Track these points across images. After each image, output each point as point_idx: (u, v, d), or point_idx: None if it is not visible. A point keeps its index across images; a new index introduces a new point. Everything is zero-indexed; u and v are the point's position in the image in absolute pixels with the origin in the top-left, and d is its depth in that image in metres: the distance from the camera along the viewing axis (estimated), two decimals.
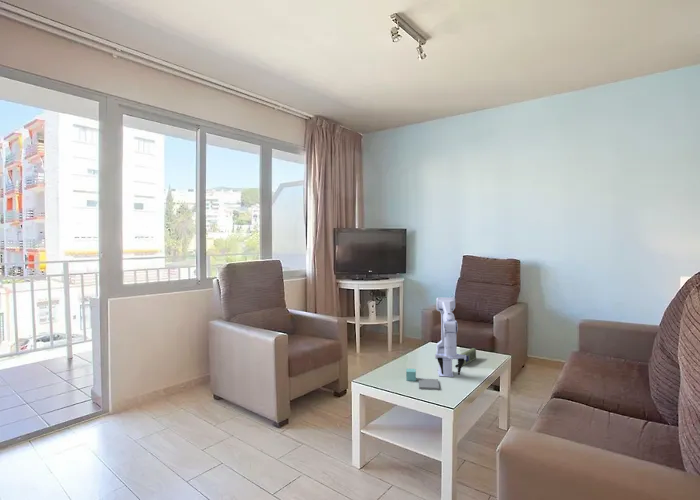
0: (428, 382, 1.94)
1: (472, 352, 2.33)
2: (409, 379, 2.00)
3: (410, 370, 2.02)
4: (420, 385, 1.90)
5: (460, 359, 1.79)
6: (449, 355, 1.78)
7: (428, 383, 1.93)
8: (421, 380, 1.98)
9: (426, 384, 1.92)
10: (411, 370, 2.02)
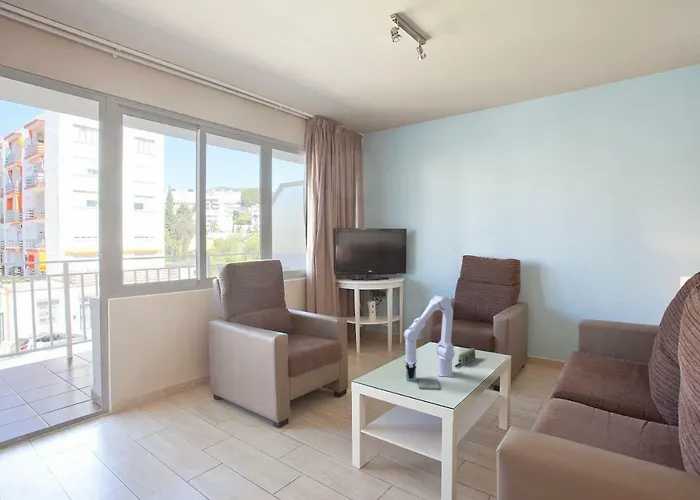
0: (428, 382, 1.94)
1: (471, 352, 2.33)
2: (409, 379, 2.00)
3: None
4: (420, 385, 1.90)
5: (409, 365, 1.98)
6: None
7: (428, 383, 1.93)
8: (421, 380, 1.98)
9: (426, 384, 1.92)
10: None
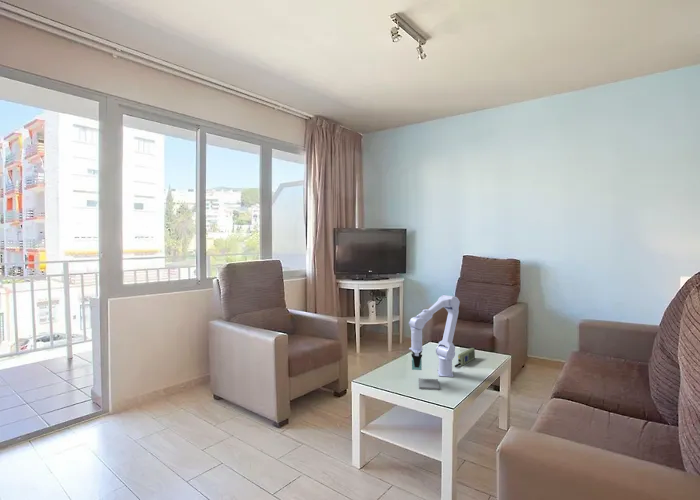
0: (428, 382, 1.94)
1: (471, 352, 2.33)
2: (415, 368, 1.97)
3: None
4: (420, 385, 1.90)
5: (415, 354, 1.95)
6: None
7: (428, 383, 1.93)
8: (421, 380, 1.98)
9: (426, 384, 1.92)
10: None
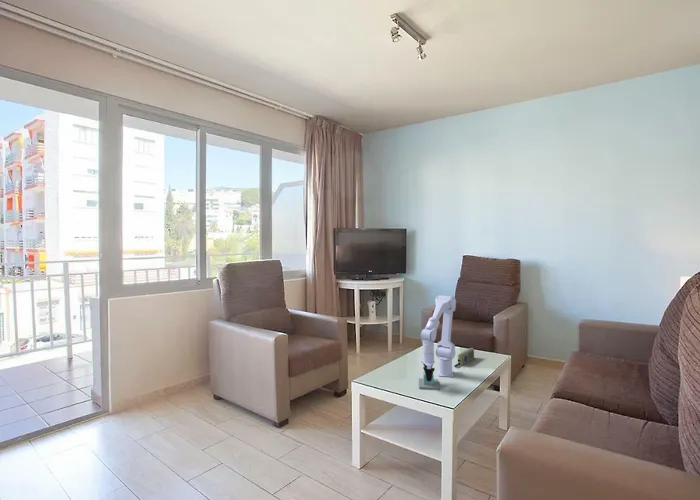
0: None
1: (470, 352, 2.33)
2: (427, 383, 1.91)
3: None
4: (420, 385, 1.90)
5: (427, 366, 1.89)
6: None
7: None
8: (421, 380, 1.98)
9: None
10: None
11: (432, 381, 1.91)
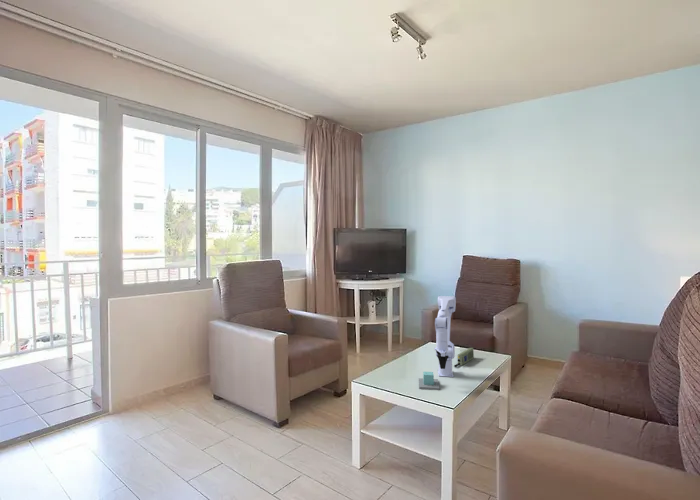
0: None
1: (470, 352, 2.34)
2: (427, 383, 1.91)
3: (427, 373, 1.93)
4: (420, 385, 1.90)
5: (440, 354, 1.90)
6: None
7: None
8: (421, 380, 1.98)
9: None
10: (428, 373, 1.93)
11: (432, 381, 1.91)
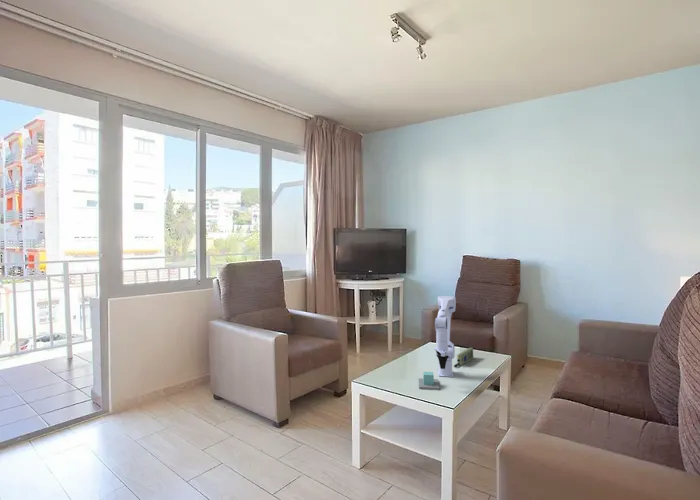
0: None
1: (470, 352, 2.34)
2: (427, 383, 1.91)
3: (427, 373, 1.93)
4: (420, 385, 1.90)
5: (440, 354, 1.90)
6: None
7: None
8: (421, 380, 1.98)
9: None
10: (428, 373, 1.93)
11: (432, 381, 1.91)
